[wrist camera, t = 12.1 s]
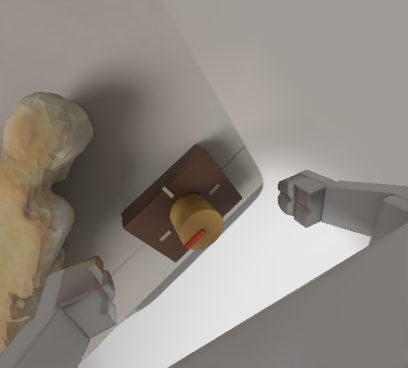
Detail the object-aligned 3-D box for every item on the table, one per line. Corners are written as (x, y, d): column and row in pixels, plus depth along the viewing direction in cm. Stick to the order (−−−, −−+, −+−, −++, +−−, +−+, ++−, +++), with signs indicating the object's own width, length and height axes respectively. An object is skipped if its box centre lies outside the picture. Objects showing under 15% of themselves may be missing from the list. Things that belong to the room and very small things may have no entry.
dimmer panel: (193, 142, 22) (205, 148, 20) (231, 189, 27) (244, 200, 24) (118, 211, 22) (120, 228, 19) (170, 247, 27) (177, 265, 24)
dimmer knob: (193, 185, 21) (209, 201, 18) (215, 209, 23) (232, 228, 20) (161, 214, 21) (171, 236, 17) (186, 236, 23) (199, 259, 20)
